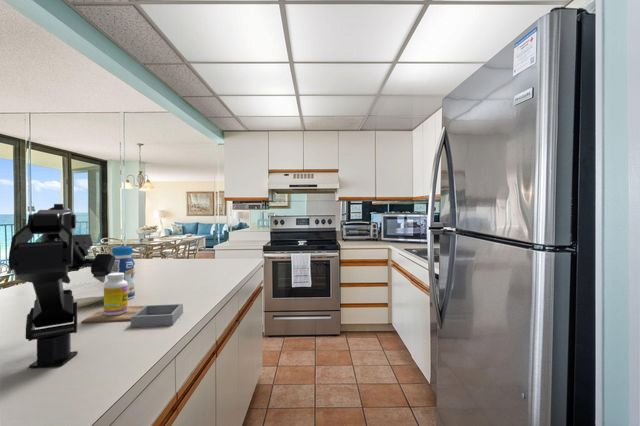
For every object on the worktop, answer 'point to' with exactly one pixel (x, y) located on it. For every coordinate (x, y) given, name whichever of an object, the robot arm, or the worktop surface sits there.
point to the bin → (157, 315)
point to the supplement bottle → (115, 295)
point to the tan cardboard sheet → (102, 317)
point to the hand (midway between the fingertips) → (86, 281)
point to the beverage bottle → (125, 266)
